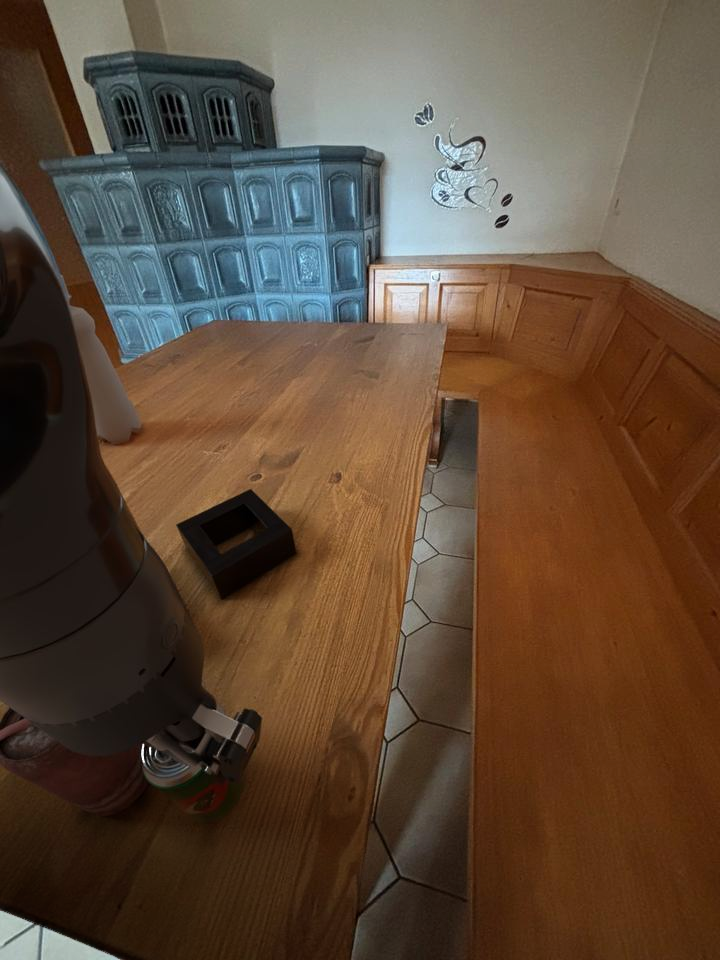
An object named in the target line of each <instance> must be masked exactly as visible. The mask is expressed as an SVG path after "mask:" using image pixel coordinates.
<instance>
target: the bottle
mask: <svg viewBox="0 0 720 960" xmlns="http://www.w3.org/2000/svg"><path fill="white" fill-rule="evenodd" d="M60 275H61V278H62V281H63V284H64V287H65V291H66V294H67V298H68V301H69V302H70V299H71V298H72V295H71V294H70V293H69V291H68V288H67V284H66V282H65V278H64V275H62V274H60ZM70 309H71V313H72V317H73V321H74V325H75V329H76V333H77V338H78V342H79V346H80V351H81V355H82V359H83V364H84V368H85V372H86V376H87V381H88V385H89V389H90V393H91V398H92V403H93V409H94V416H95V424H96V431H97V437H98V441H99V442H102V443H104V442H107V441H108V442H109V443H111V444H112V445H118V444H123V443H127V442H129V441H130V438H131V435H139V433H140V430H141V428H142V421H141V420H140V417H139V414H138V412H137V410H136V407H135V405H134V403H133V402H132V400H131V399H130V398H129V396H128V394H127V392H126V390H125V387H124V386H123V383H122V381H121V379H120V377H119V375H118V373H117V371H116V369H115V367H114V365H113V363H112V361H111V359H110V356H109V355H108V352H107V350H106V348H105V347H104V344H103V343H102V341H100V339H99V337H98V335H96V324H95V319H94V318H93V317H92V316H91V315H90V314H89V313H88V312H87V311H86V310H85V309H84V308H82V307H77V306H73V305H70Z"/></svg>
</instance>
